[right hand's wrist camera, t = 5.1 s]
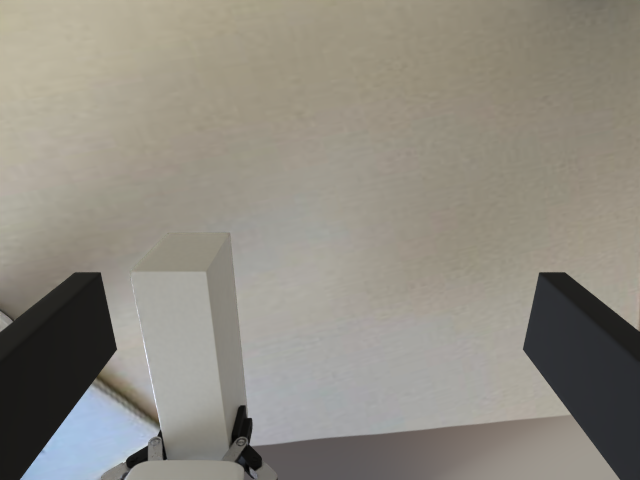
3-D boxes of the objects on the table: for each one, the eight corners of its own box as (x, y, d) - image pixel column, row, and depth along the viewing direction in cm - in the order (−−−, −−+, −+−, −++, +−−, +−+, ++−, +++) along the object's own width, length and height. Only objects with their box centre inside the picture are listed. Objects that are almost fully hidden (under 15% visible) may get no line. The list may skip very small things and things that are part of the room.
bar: (167, 232, 39) (128, 271, 32) (230, 232, 39) (206, 271, 32) (196, 415, 48) (171, 481, 40) (248, 415, 48) (233, 482, 40)
